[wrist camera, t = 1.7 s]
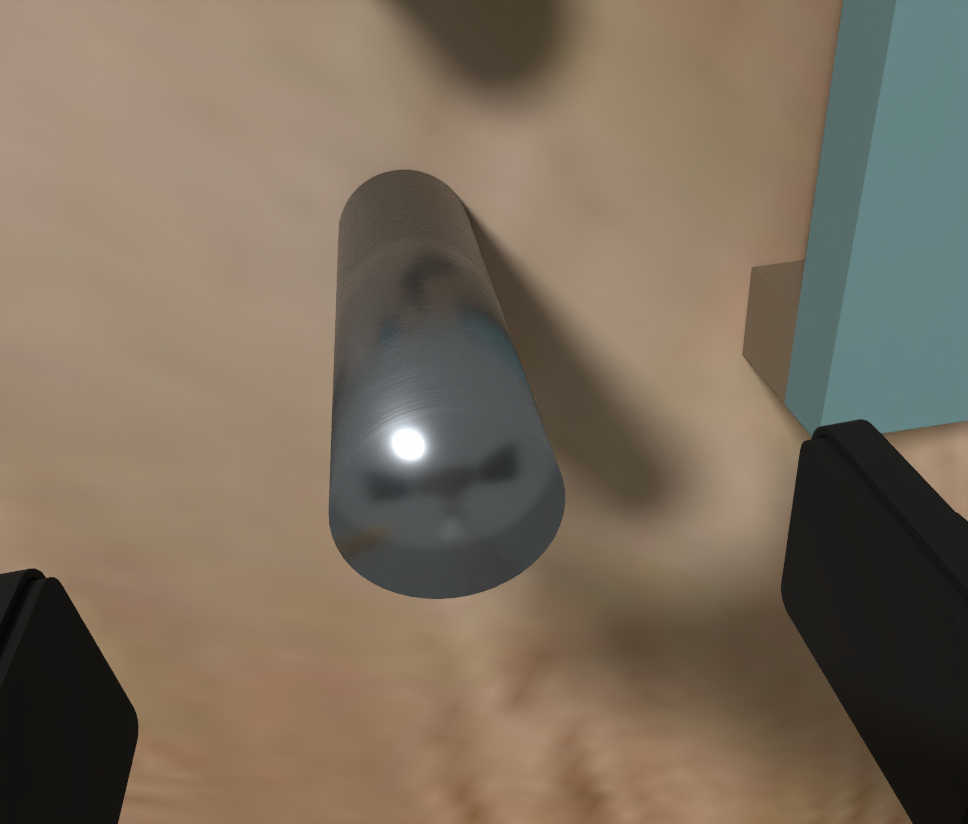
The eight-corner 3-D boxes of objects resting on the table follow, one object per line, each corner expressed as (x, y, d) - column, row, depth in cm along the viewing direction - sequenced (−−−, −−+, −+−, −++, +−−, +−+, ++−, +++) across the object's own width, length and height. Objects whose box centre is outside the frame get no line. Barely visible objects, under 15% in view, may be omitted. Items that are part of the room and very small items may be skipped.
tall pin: (493, 252, 23) (603, 530, 13) (387, 317, 24) (414, 630, 14) (424, 143, 21) (491, 368, 11) (311, 217, 22) (278, 493, 12)
